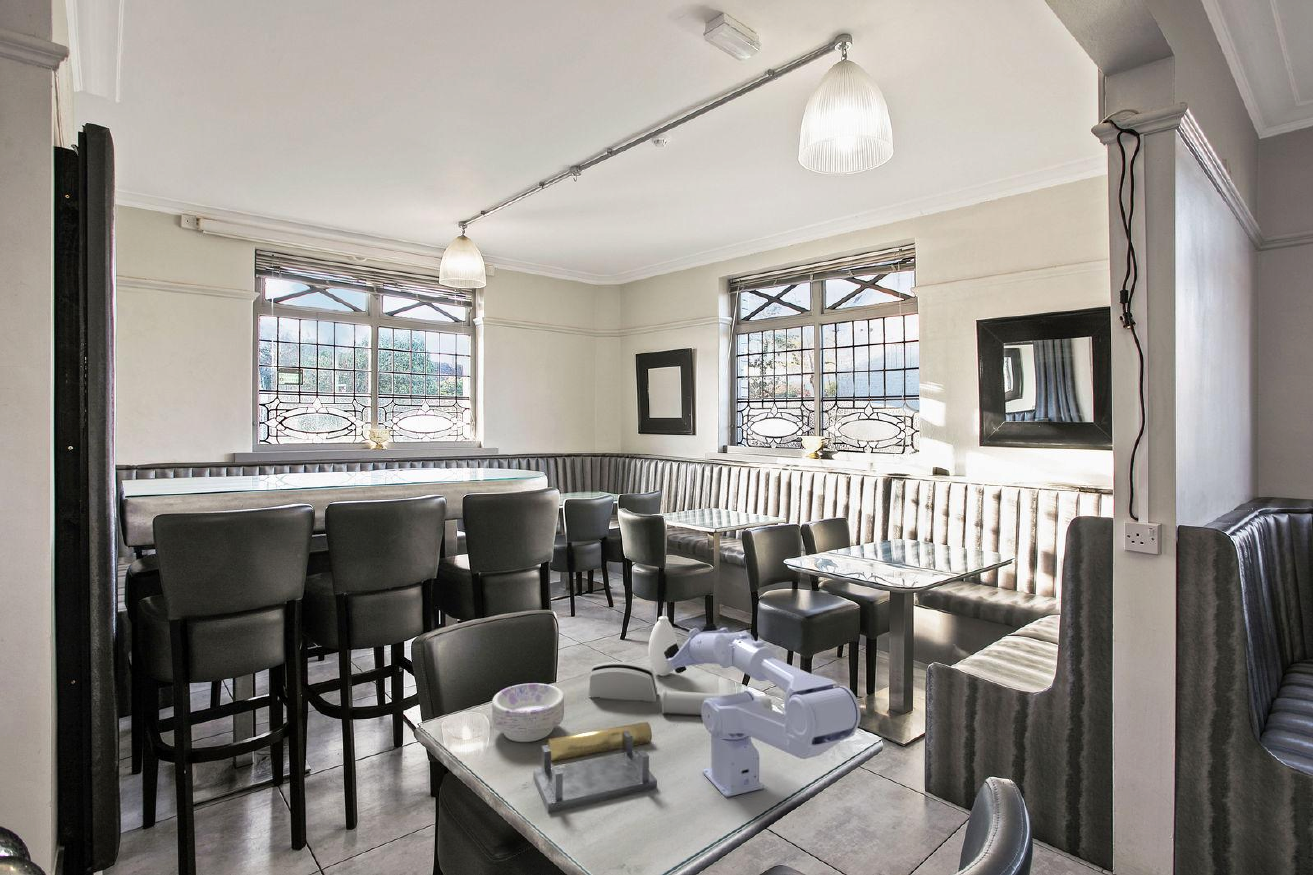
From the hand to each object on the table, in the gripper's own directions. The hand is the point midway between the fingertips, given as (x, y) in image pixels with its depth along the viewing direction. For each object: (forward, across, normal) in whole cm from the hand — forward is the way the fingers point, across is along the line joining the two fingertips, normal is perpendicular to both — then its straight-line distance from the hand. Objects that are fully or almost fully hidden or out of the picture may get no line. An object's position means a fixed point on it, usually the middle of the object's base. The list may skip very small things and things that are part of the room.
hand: (681, 647), depth 142 cm
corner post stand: (-6, +29, +12) cm, 32 cm away
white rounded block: (+27, +8, +10) cm, 30 cm away
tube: (+10, -6, +20) cm, 23 cm away
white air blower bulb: (+36, -8, +12) cm, 39 cm away
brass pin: (+6, +23, +11) cm, 26 cm away
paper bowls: (+19, +33, +4) cm, 38 cm away
